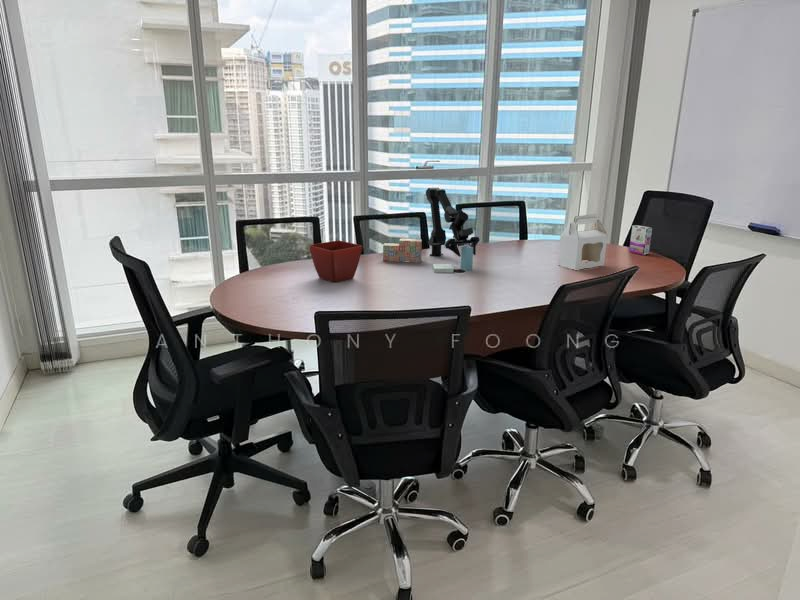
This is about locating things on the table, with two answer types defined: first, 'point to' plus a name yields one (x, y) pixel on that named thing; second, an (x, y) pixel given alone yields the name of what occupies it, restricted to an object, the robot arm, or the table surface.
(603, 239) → the gable box
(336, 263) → the plant pot
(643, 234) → the candy bar box
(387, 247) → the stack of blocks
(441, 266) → the base tile
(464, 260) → the teal pillar
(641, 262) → the table surface
